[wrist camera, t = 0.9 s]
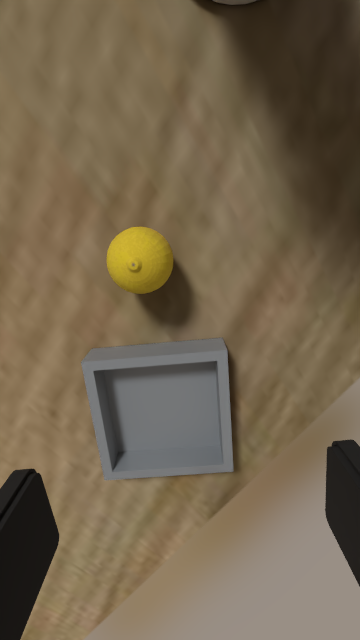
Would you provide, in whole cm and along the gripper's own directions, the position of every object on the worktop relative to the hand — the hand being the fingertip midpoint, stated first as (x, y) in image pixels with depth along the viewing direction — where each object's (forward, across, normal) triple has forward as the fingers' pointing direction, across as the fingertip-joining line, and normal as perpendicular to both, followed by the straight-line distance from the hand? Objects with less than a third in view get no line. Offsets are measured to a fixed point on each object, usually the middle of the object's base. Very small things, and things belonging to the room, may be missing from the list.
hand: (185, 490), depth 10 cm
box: (+22, +3, +10) cm, 24 cm away
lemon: (+22, +3, -6) cm, 23 cm away
